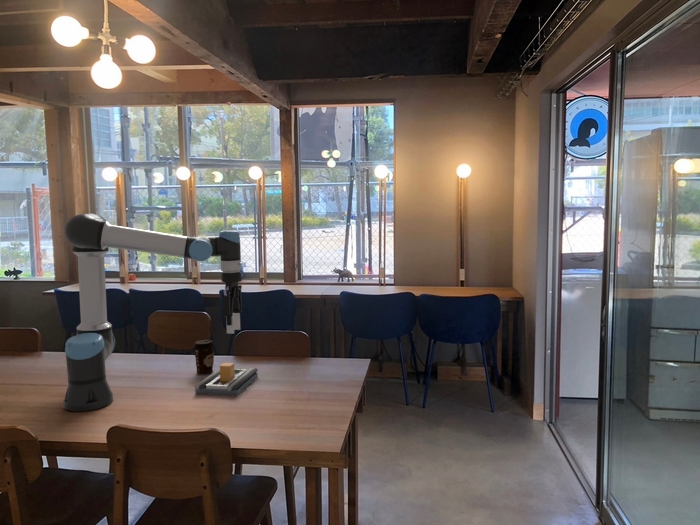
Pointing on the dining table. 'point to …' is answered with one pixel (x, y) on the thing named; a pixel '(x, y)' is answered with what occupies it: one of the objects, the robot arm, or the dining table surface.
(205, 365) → the coffee cup
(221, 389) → the panel
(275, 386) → the dining table surface
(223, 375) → the tan rectangular block
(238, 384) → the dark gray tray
